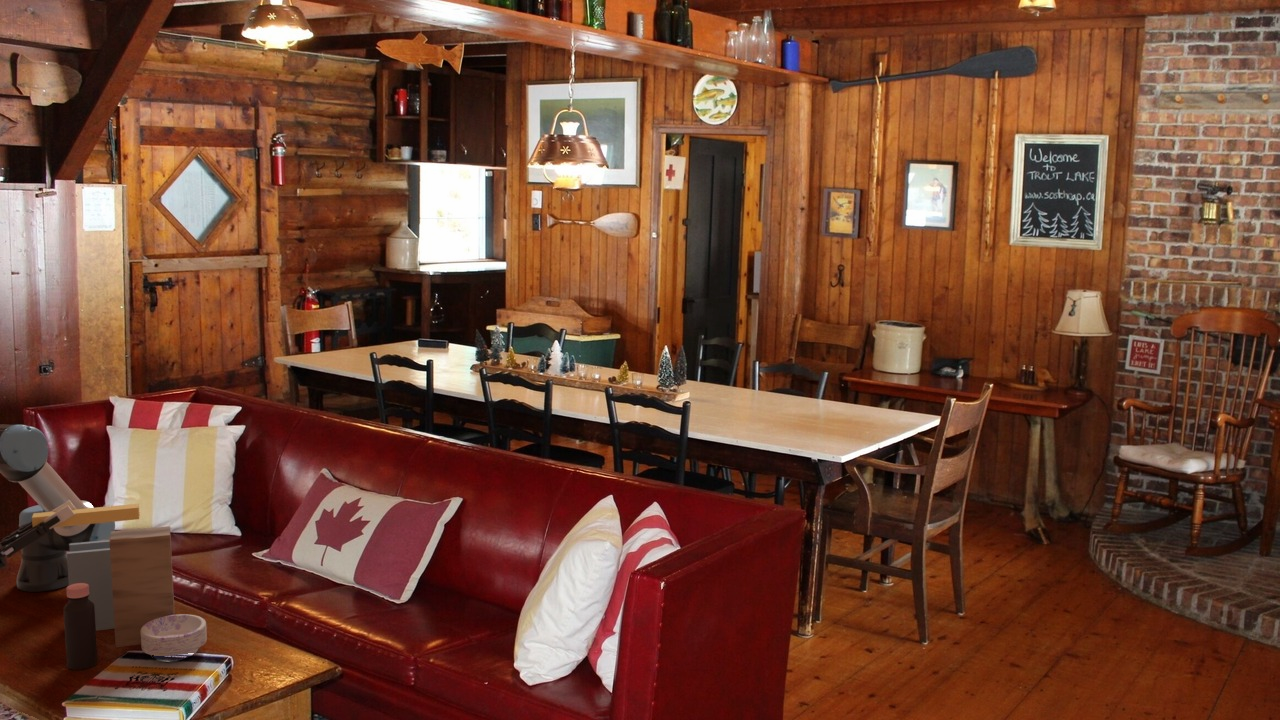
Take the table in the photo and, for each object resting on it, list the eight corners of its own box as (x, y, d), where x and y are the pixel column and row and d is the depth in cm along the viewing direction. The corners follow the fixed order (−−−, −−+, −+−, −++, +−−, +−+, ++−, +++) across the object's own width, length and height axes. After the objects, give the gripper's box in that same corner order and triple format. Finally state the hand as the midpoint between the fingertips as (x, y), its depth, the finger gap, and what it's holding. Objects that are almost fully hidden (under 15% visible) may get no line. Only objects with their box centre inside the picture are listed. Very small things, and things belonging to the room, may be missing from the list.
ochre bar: (34, 525, 292) (33, 513, 291) (139, 515, 300) (138, 503, 300) (32, 529, 288) (31, 517, 288) (139, 519, 297) (138, 507, 296)
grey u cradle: (74, 621, 314) (69, 543, 311) (139, 613, 320) (135, 537, 317) (72, 633, 306) (66, 553, 302) (138, 625, 312) (134, 547, 308)
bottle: (102, 664, 287) (97, 586, 284) (73, 673, 282) (68, 593, 279) (91, 656, 291) (86, 579, 288) (62, 664, 286) (57, 586, 283)
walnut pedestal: (117, 635, 305) (111, 531, 300) (175, 628, 310) (170, 526, 305) (115, 647, 297) (109, 540, 293) (175, 640, 302) (169, 535, 298)
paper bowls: (170, 672, 283) (168, 641, 282) (128, 659, 290) (126, 628, 289) (220, 651, 296) (219, 620, 295) (179, 638, 303) (178, 609, 302)
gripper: (-3, 562, 296) (83, 509, 301) (-12, 584, 280) (78, 528, 286) (-22, 539, 293) (65, 486, 299) (-32, 560, 278) (59, 504, 283)
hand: (71, 507), depth 292 cm, fingers closed on ochre bar, 4 cm apart
